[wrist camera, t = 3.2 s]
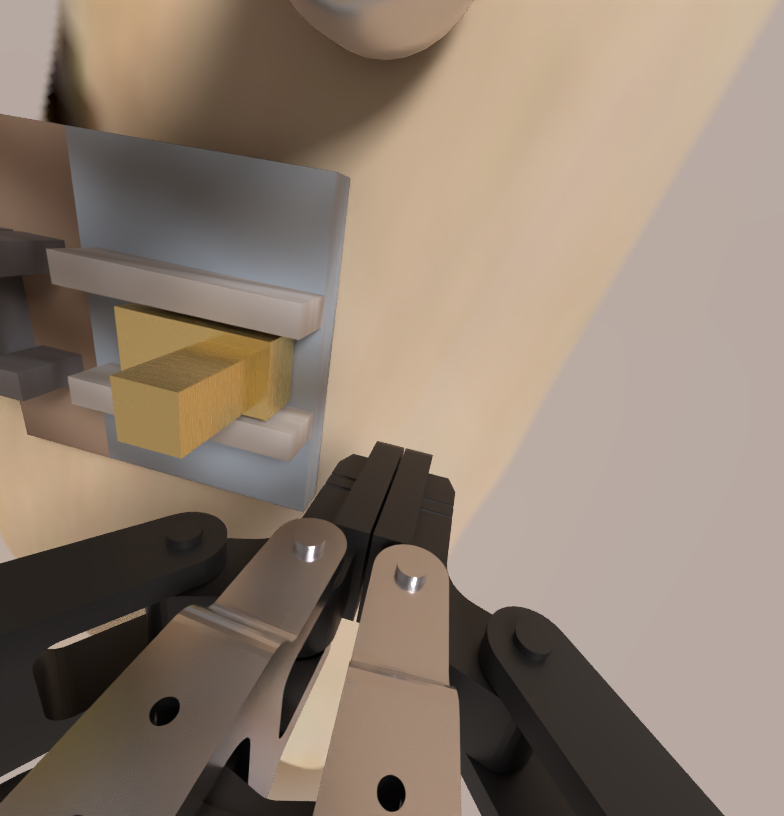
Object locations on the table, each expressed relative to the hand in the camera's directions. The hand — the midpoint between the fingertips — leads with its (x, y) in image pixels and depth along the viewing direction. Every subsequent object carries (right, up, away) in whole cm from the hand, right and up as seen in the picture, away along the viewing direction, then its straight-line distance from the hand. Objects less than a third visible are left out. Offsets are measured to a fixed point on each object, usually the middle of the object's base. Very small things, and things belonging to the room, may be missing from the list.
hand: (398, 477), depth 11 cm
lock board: (-10, +6, +8) cm, 14 cm away
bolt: (-7, +4, +6) cm, 10 cm away
